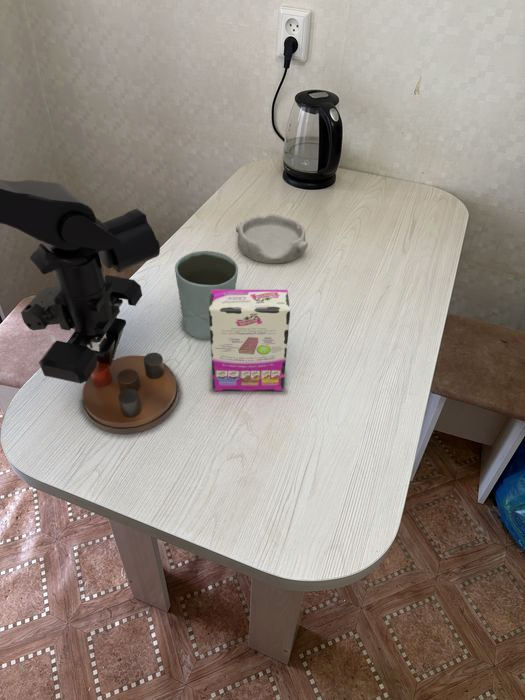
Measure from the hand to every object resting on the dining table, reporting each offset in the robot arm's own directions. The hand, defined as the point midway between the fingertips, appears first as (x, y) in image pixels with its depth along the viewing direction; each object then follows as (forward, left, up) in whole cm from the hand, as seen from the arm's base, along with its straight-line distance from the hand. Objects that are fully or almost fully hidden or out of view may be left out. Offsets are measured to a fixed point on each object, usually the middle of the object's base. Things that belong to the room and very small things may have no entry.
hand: (107, 365), depth 76 cm
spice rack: (+3, -3, -3) cm, 5 cm away
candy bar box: (+21, -4, -4) cm, 22 cm away
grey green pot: (+18, +11, -4) cm, 21 cm away
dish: (+36, +32, -4) cm, 48 cm away
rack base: (+3, -3, -4) cm, 6 cm away
